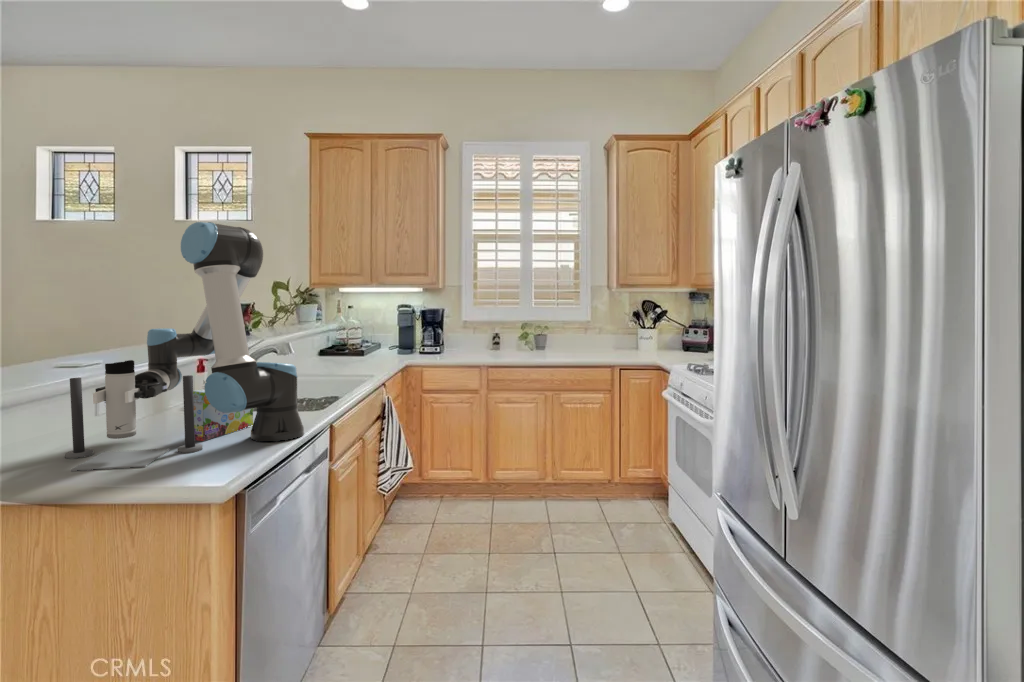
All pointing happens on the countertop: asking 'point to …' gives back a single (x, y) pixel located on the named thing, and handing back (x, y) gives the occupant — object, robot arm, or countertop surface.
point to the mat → (121, 459)
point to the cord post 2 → (189, 417)
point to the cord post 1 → (77, 421)
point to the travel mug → (120, 400)
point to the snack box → (216, 419)
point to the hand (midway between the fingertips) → (110, 397)
